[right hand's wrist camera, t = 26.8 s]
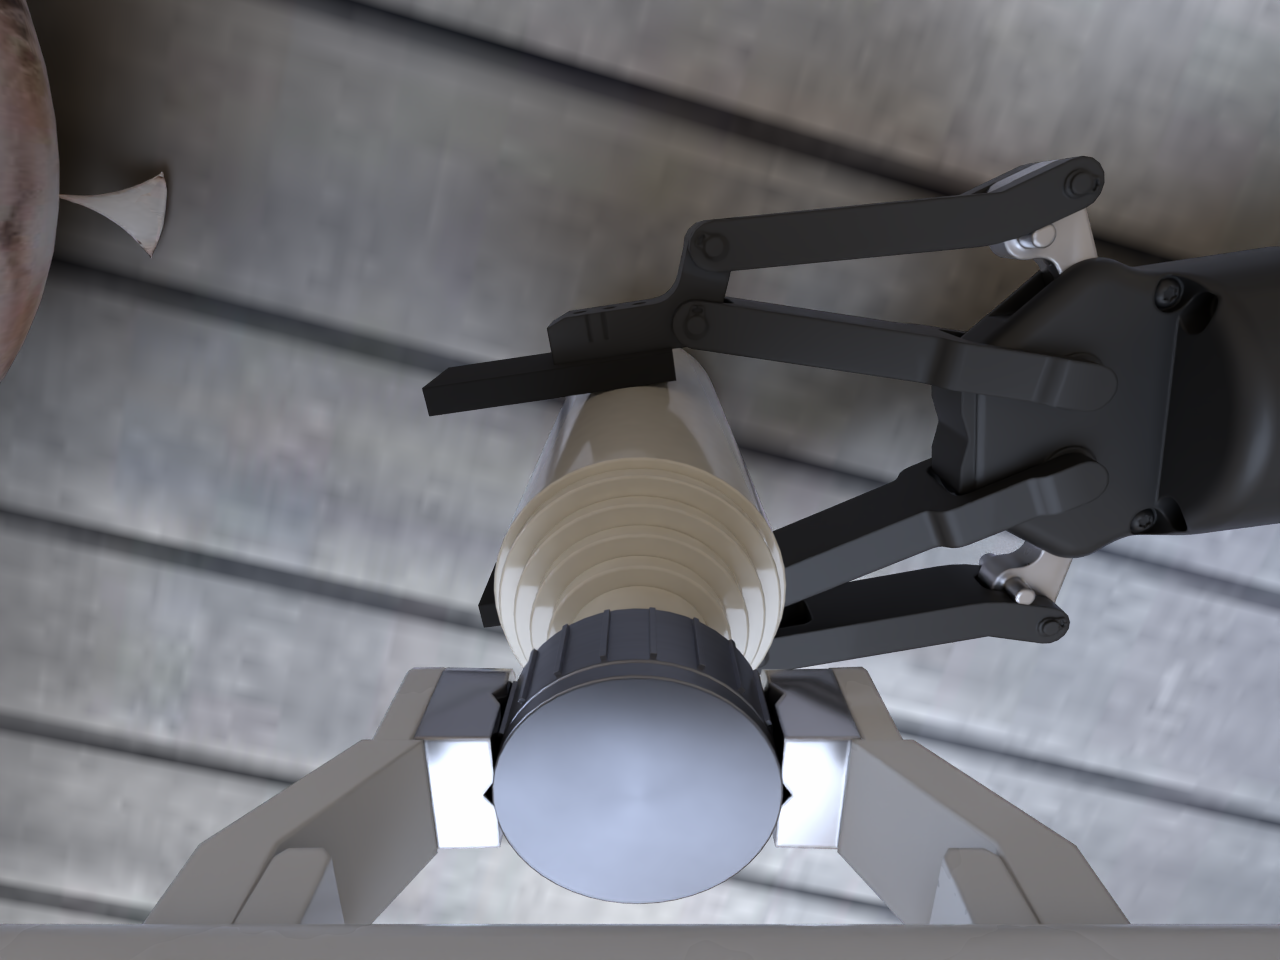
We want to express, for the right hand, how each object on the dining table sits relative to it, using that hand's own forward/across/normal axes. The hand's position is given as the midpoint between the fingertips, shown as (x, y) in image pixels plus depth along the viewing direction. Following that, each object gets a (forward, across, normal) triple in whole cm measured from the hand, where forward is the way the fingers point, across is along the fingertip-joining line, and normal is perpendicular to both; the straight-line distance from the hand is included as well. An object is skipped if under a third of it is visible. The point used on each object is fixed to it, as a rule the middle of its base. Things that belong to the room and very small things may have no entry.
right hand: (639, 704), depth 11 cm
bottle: (+17, 0, 0) cm, 17 cm away
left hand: (+10, -5, -1) cm, 12 cm away
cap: (-2, 0, 0) cm, 2 cm away
